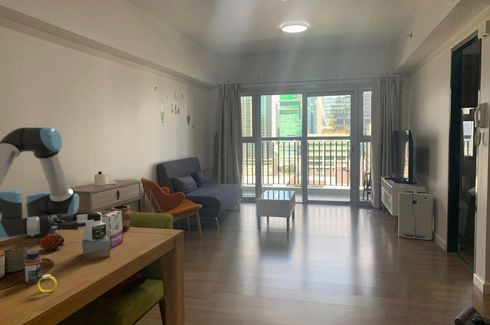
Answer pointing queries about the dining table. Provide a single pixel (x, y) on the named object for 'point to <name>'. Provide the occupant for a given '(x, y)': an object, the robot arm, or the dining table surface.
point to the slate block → (96, 245)
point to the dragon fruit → (51, 241)
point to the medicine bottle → (95, 228)
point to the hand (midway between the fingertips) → (93, 219)
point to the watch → (46, 278)
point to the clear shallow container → (96, 254)
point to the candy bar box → (114, 227)
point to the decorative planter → (124, 215)
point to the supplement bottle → (33, 267)
